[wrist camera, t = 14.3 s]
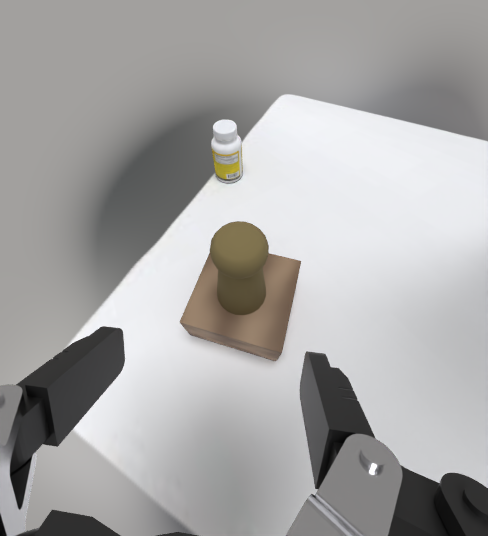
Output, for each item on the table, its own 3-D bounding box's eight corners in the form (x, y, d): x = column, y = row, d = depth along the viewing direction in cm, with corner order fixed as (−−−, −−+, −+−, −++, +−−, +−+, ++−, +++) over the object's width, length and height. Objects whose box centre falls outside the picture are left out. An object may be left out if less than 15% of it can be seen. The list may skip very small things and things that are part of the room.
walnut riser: (293, 281, 37) (301, 261, 32) (275, 361, 31) (281, 353, 26) (219, 262, 39) (215, 240, 33) (190, 334, 33) (179, 322, 28)
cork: (210, 280, 30) (192, 223, 21) (253, 263, 31) (256, 202, 22) (227, 323, 28) (216, 281, 18) (274, 303, 29) (288, 254, 19)
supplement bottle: (224, 162, 50) (219, 113, 42) (247, 170, 49) (247, 121, 41) (210, 178, 48) (202, 130, 40) (234, 187, 47) (231, 139, 38)
